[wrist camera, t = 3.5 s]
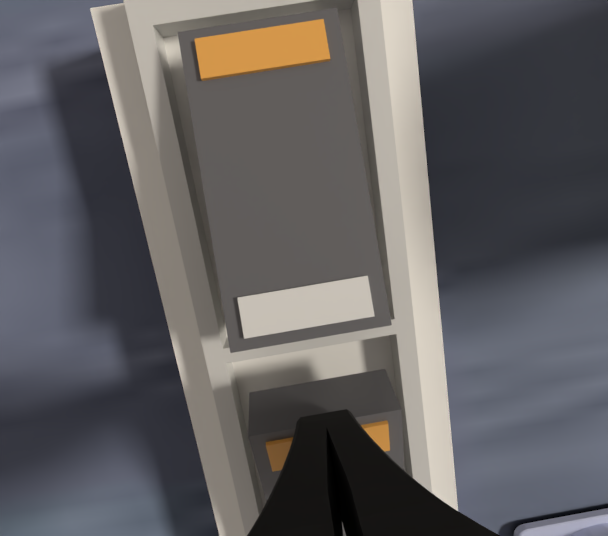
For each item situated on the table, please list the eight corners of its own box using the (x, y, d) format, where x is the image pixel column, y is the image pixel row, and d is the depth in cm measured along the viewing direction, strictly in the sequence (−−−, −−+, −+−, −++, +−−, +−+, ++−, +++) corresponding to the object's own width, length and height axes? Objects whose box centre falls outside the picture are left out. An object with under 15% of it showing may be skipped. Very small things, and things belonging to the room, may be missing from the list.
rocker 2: (395, 532, 16) (410, 583, 14) (291, 552, 16) (294, 605, 14) (384, 368, 12) (403, 412, 11) (249, 392, 12) (248, 440, 11)
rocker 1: (378, 318, 12) (393, 325, 10) (238, 343, 12) (229, 354, 10) (331, 43, 12) (337, 4, 10) (193, 64, 12) (175, 29, 10)
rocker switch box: (434, 499, 19) (473, 580, 16) (241, 534, 19) (232, 626, 15) (361, -204, 13) (395, -360, 10) (79, -166, 13) (-2, -307, 9)
